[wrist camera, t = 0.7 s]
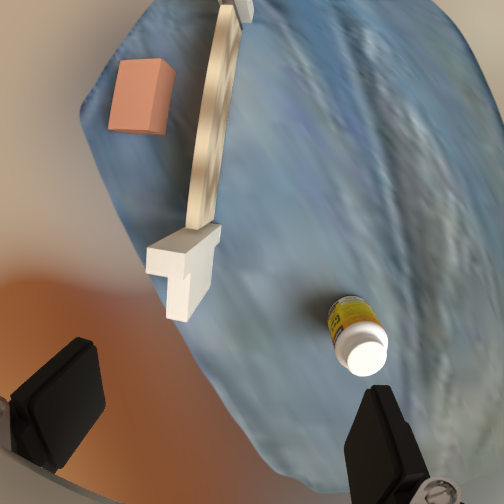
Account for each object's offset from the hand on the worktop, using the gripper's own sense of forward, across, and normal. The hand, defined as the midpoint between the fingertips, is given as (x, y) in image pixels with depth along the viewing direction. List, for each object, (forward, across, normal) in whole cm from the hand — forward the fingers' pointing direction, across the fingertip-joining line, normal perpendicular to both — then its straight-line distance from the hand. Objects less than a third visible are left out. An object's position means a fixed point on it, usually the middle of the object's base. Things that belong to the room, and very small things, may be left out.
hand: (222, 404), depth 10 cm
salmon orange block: (+28, +15, -15) cm, 35 cm away
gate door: (+27, +6, -13) cm, 31 cm away
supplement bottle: (+28, -11, +8) cm, 31 cm away
